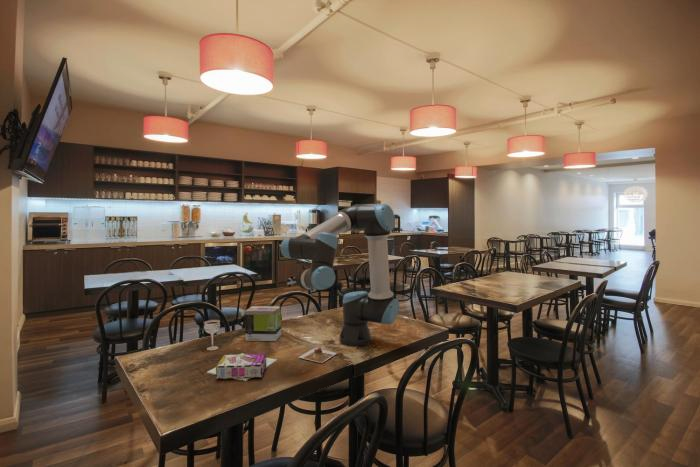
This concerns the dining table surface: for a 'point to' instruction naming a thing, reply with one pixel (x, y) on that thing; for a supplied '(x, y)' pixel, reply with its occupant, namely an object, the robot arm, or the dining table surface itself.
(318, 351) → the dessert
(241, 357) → the candy bar box
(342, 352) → the dining table surface
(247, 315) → the tea box
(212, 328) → the wineglass
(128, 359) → the dining table surface
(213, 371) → the mat
